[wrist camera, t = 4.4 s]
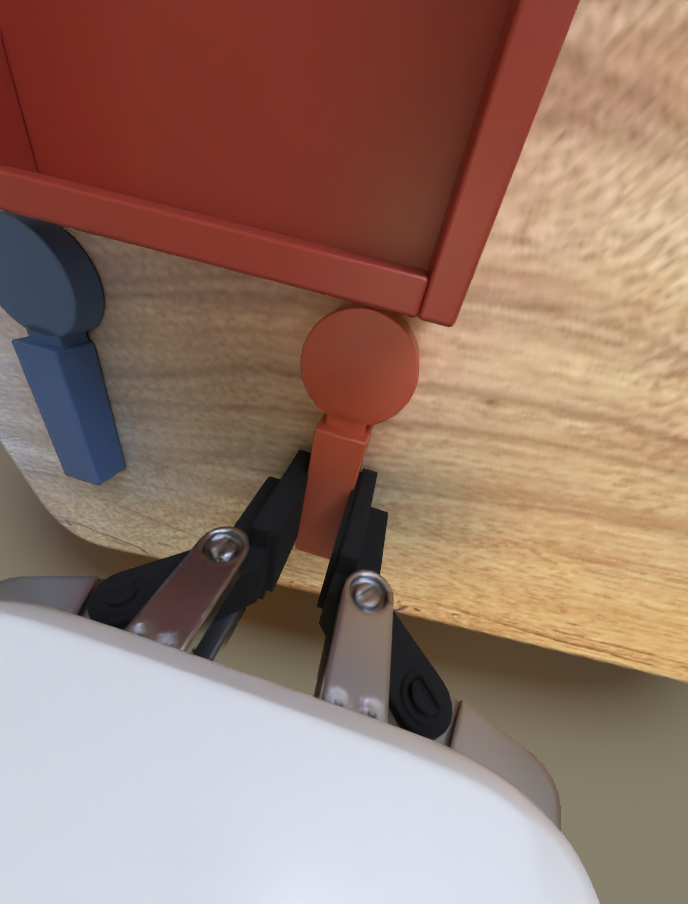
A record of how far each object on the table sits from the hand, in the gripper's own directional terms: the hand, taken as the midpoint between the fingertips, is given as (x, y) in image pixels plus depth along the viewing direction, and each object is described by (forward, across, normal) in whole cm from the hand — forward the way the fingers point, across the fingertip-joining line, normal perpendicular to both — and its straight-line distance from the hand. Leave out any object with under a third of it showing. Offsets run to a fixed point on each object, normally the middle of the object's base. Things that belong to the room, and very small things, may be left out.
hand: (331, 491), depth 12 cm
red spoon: (0, 0, -2) cm, 2 cm away
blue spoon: (0, +10, -2) cm, 10 cm away
